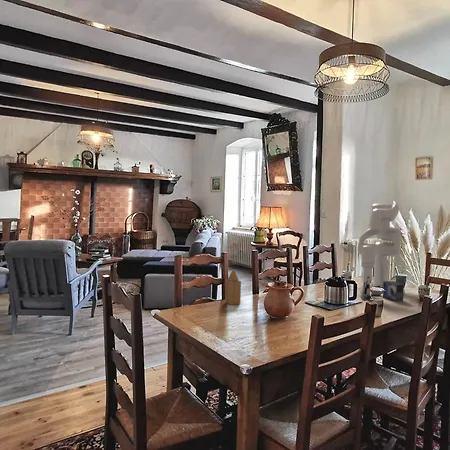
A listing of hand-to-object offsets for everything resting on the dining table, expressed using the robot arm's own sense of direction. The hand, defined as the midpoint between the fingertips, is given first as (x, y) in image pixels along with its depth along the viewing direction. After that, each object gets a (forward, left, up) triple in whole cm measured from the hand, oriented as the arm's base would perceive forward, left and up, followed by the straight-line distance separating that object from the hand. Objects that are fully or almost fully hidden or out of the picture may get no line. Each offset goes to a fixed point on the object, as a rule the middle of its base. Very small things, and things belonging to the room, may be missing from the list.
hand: (366, 292), depth 242 cm
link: (0, 0, -1) cm, 1 cm away
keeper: (+8, 0, -2) cm, 8 cm away
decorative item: (+43, -78, -2) cm, 89 cm away
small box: (+3, +15, -2) cm, 15 cm away
